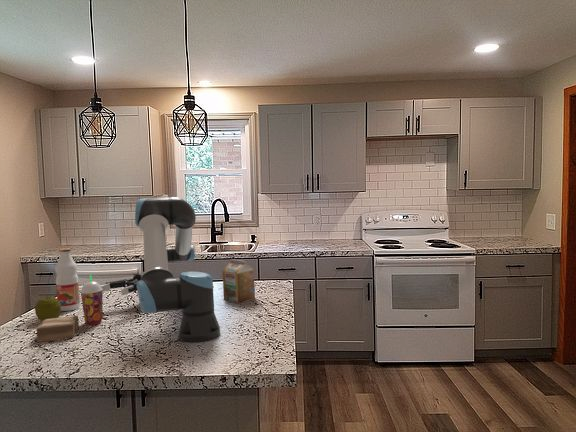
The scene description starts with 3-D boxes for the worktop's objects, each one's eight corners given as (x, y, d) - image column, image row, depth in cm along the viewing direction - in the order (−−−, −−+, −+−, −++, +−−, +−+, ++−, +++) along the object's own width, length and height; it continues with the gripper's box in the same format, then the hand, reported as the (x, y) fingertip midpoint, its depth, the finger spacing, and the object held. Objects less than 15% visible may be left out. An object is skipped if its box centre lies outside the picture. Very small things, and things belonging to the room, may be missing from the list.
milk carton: (255, 298, 214) (253, 259, 212) (238, 303, 206) (236, 262, 205) (240, 295, 221) (239, 257, 219) (223, 299, 213) (222, 260, 212)
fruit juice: (84, 306, 209) (80, 247, 207) (66, 312, 201) (61, 250, 199) (71, 304, 214) (67, 246, 211) (53, 310, 205) (48, 249, 203)
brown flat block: (73, 337, 167) (72, 324, 166) (37, 342, 163) (36, 328, 163) (78, 327, 178) (77, 315, 178) (45, 331, 175) (44, 318, 174)
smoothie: (87, 320, 188) (84, 273, 187) (107, 319, 189) (104, 272, 187) (79, 326, 180) (76, 277, 178) (100, 325, 180) (97, 276, 179)
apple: (43, 325, 183) (41, 299, 182) (30, 322, 188) (28, 296, 187) (66, 318, 191) (65, 293, 190) (54, 315, 196) (52, 291, 195)
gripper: (165, 289, 207) (132, 301, 187) (124, 286, 217) (88, 297, 197) (164, 273, 206) (131, 284, 187) (123, 271, 216) (87, 280, 197)
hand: (109, 291), depth 192 cm, fingers open, 13 cm apart
